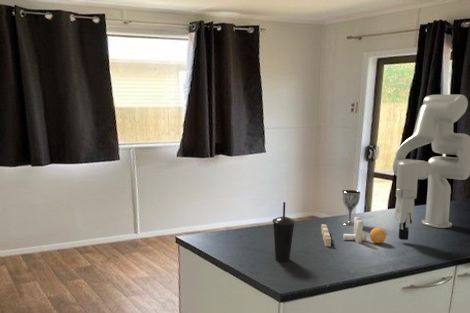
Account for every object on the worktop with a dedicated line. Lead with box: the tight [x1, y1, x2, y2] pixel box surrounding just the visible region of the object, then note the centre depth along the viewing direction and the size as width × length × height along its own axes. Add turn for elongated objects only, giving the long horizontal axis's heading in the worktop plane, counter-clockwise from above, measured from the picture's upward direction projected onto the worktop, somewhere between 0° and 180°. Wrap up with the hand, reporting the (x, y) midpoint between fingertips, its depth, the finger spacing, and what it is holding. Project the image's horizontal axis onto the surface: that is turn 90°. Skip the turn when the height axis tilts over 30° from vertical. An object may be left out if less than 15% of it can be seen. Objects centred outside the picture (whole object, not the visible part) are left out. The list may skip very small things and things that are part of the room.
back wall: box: [320, 223, 332, 247], centre depth 168 cm, size 20×2×3 cm, turn 173°
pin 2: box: [354, 220, 364, 244], centre depth 164 cm, size 2×2×8 cm
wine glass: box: [341, 189, 361, 227], centre depth 191 cm, size 8×8×15 cm
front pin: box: [342, 233, 367, 242], centre depth 167 cm, size 2×2×8 cm
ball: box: [369, 227, 387, 244], centre depth 163 cm, size 6×6×6 cm
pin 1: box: [353, 216, 362, 234], centre depth 169 cm, size 2×2×8 cm
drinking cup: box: [272, 201, 296, 263], centre depth 143 cm, size 8×8×20 cm
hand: (403, 238), depth 164 cm, fingers closed
